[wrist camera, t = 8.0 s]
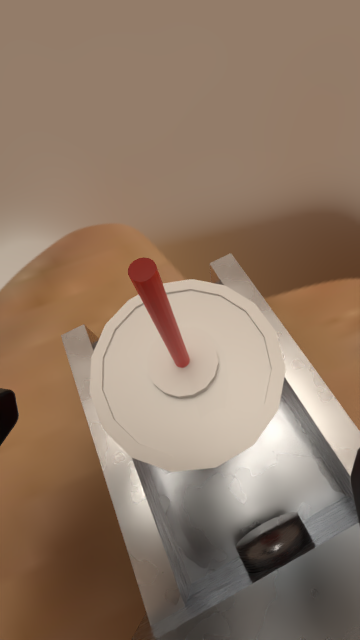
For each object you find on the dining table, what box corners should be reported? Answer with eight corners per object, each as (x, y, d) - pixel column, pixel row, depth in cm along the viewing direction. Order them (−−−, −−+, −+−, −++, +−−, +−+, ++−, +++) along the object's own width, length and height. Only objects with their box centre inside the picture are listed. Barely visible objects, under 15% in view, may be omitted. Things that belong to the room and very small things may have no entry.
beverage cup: (234, 345, 19) (250, 108, 6) (275, 447, 16) (452, 392, 3) (141, 375, 19) (-31, 200, 6) (166, 482, 16) (-52, 556, 3)
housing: (437, 560, 14) (537, 607, 9) (188, 709, 13) (168, 838, 9) (239, 278, 22) (242, 231, 17) (75, 359, 21) (34, 331, 16)
